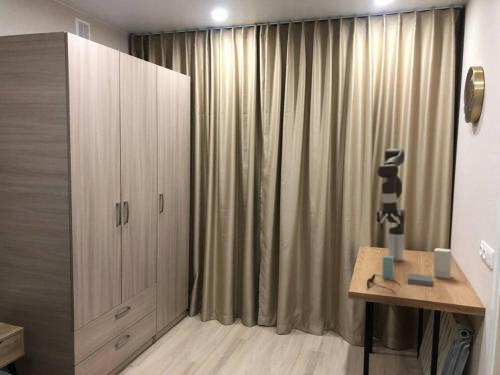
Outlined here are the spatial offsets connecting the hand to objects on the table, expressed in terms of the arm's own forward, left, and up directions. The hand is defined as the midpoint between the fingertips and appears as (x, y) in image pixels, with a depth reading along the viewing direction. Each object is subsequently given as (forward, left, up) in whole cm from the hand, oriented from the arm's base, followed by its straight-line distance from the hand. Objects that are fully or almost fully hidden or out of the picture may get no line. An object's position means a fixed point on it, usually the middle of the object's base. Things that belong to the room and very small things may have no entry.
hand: (390, 229), depth 224 cm
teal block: (-2, -1, -28) cm, 28 cm away
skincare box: (-16, +27, -28) cm, 42 cm away
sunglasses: (+16, -1, -29) cm, 33 cm away
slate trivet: (-1, +16, -28) cm, 32 cm away
